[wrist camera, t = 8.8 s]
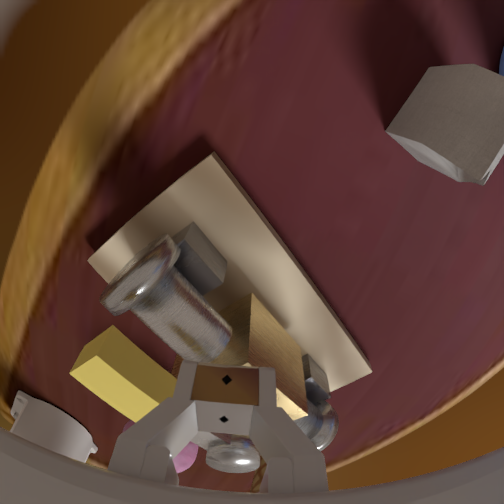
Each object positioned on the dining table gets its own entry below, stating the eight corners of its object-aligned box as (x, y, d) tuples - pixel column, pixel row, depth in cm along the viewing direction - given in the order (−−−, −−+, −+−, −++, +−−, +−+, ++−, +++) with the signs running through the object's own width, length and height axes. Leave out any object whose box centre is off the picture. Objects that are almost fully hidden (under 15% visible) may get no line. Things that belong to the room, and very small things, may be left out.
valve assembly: (262, 408, 35) (261, 496, 24) (94, 252, 25) (20, 341, 15) (369, 361, 31) (396, 456, 20) (214, 151, 21) (165, 206, 11)
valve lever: (270, 440, 17) (270, 466, 15) (231, 451, 18) (229, 475, 16) (115, 323, 13) (98, 353, 11) (82, 347, 14) (67, 374, 12)
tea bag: (384, 131, 20) (460, 158, 11) (428, 67, 17) (516, 63, 9) (418, 160, 21) (497, 204, 12) (459, 99, 18) (548, 114, 9)
